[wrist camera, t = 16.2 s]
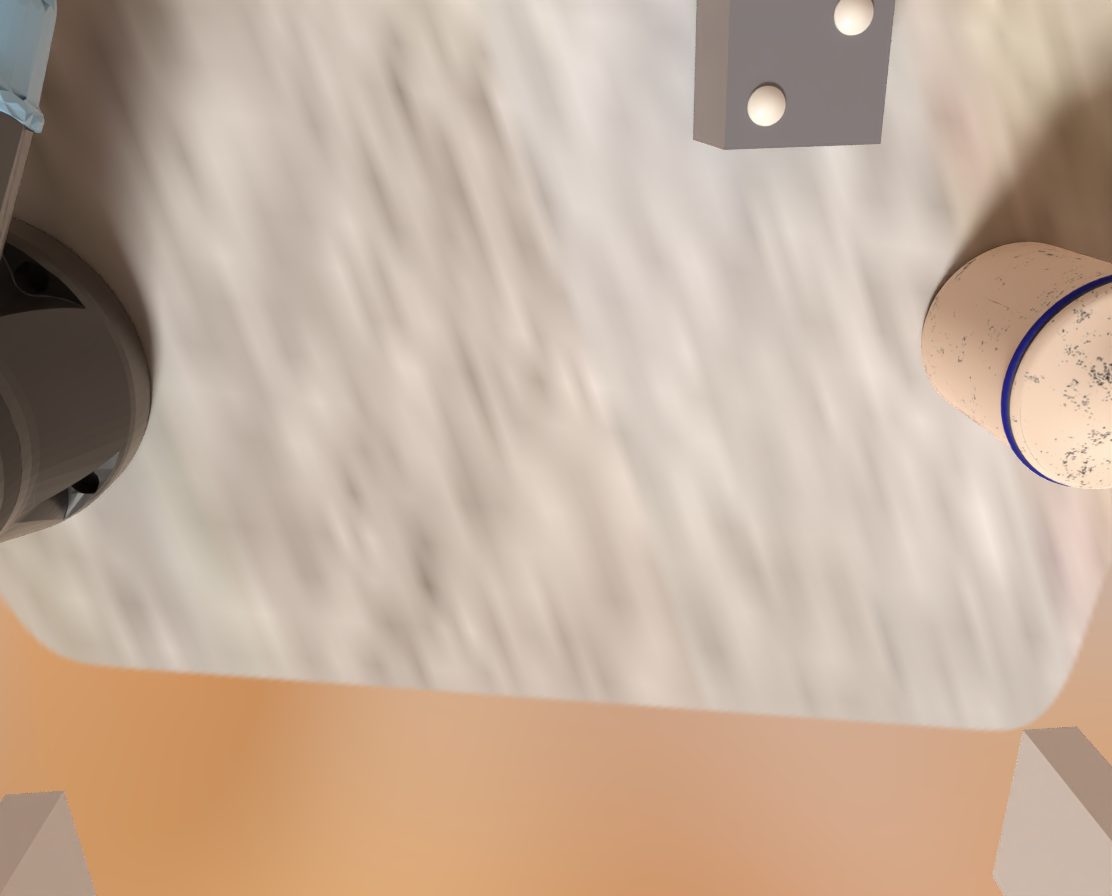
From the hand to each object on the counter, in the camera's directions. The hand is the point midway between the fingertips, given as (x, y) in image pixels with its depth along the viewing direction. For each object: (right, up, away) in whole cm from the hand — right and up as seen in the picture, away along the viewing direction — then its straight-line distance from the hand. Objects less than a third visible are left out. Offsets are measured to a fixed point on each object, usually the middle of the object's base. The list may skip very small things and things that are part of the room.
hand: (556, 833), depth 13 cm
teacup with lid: (+23, +12, +31) cm, 41 cm away
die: (+9, +22, +26) cm, 35 cm away
